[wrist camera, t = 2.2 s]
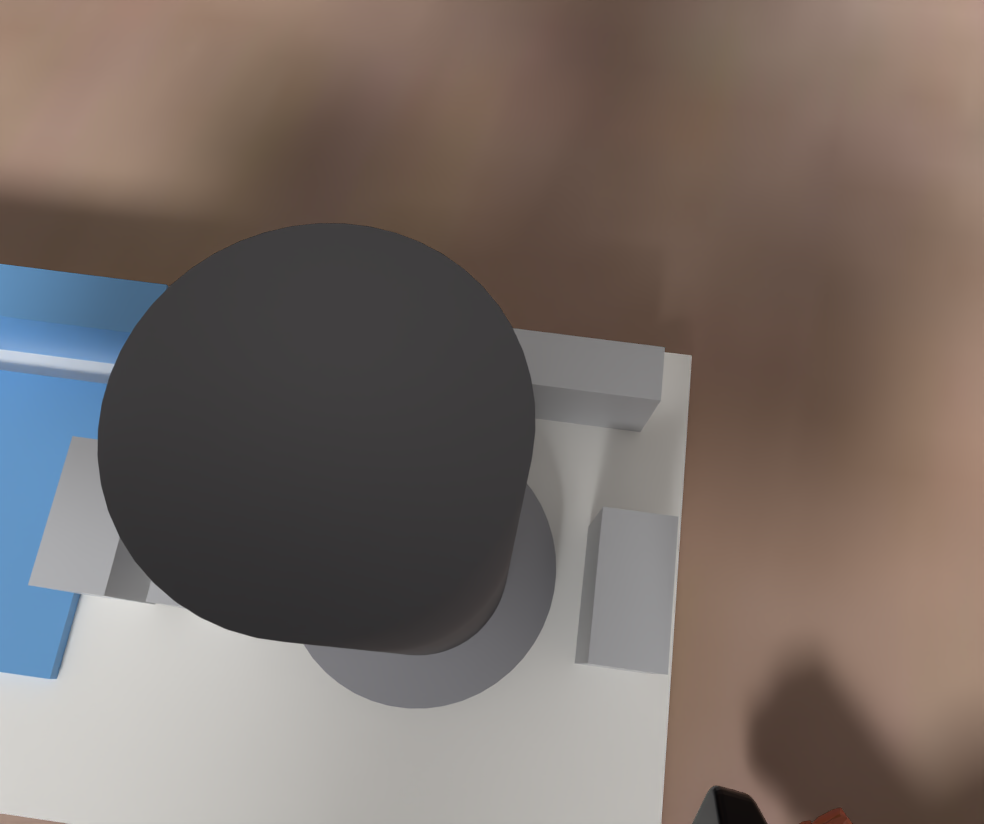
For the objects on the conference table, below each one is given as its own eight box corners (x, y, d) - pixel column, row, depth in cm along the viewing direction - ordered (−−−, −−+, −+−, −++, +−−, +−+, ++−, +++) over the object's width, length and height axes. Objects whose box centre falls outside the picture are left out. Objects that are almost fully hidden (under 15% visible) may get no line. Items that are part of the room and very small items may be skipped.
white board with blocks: (680, 372, 21) (719, 313, 17) (644, 895, 17) (684, 954, 14) (-142, 268, 22) (-266, 191, 18) (-338, 748, 18) (-537, 768, 15)
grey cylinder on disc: (433, 763, 17) (318, 971, 6) (248, 583, 18) (-171, 445, 7) (601, 560, 18) (793, 386, 7) (419, 404, 19) (316, 26, 8)
